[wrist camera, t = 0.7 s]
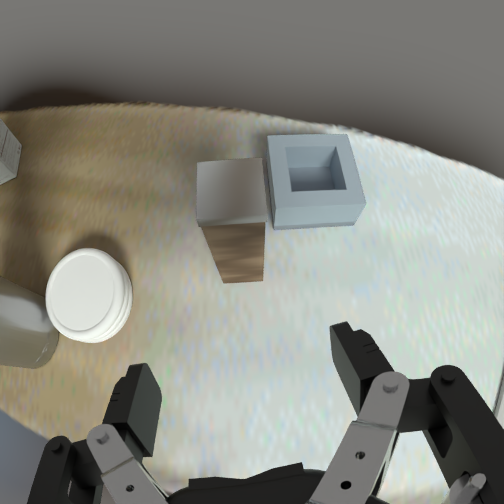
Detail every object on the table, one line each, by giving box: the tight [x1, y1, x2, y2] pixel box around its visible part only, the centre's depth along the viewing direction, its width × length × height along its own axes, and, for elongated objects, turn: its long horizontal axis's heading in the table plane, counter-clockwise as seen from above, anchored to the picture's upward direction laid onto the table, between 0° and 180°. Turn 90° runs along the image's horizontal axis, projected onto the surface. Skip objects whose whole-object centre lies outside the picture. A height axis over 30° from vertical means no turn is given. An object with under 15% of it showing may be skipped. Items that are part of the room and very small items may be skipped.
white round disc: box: [46, 248, 133, 343], centre depth 31 cm, size 10×10×4 cm
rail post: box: [196, 157, 268, 283], centre depth 27 cm, size 4×4×15 cm
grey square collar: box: [267, 134, 366, 230], centre depth 34 cm, size 9×9×5 cm
